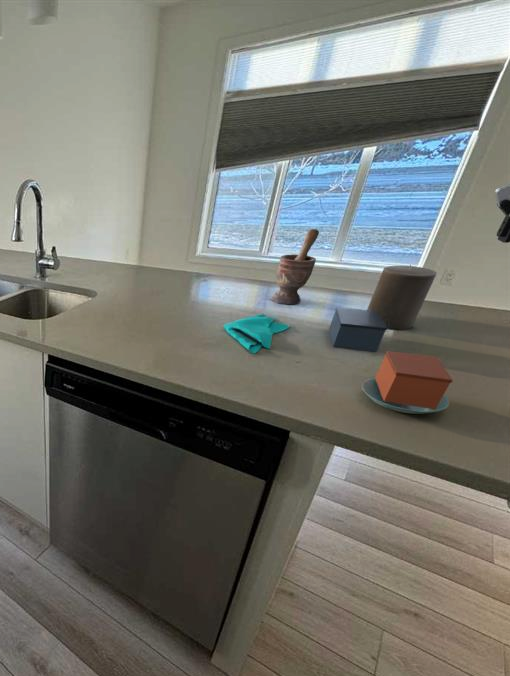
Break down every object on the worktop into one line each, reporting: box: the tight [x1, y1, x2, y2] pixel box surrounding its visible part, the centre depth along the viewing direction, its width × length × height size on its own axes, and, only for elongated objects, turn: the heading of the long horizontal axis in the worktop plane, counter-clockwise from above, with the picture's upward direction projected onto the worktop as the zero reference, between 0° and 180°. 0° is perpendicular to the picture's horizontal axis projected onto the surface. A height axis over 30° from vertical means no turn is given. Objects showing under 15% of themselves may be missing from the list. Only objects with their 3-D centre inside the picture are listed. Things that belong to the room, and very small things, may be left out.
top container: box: [375, 350, 453, 409], centre depth 73 cm, size 7×9×6 cm
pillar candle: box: [366, 264, 438, 331], centre depth 101 cm, size 10×10×15 cm
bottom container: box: [328, 307, 388, 353], centre depth 97 cm, size 8×11×6 cm
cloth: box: [223, 313, 291, 355], centre depth 106 cm, size 26×14×2 cm, turn 132°
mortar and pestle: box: [271, 228, 320, 305], centre depth 120 cm, size 12×9×20 cm
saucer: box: [361, 377, 450, 415], centre depth 75 cm, size 12×12×2 cm
